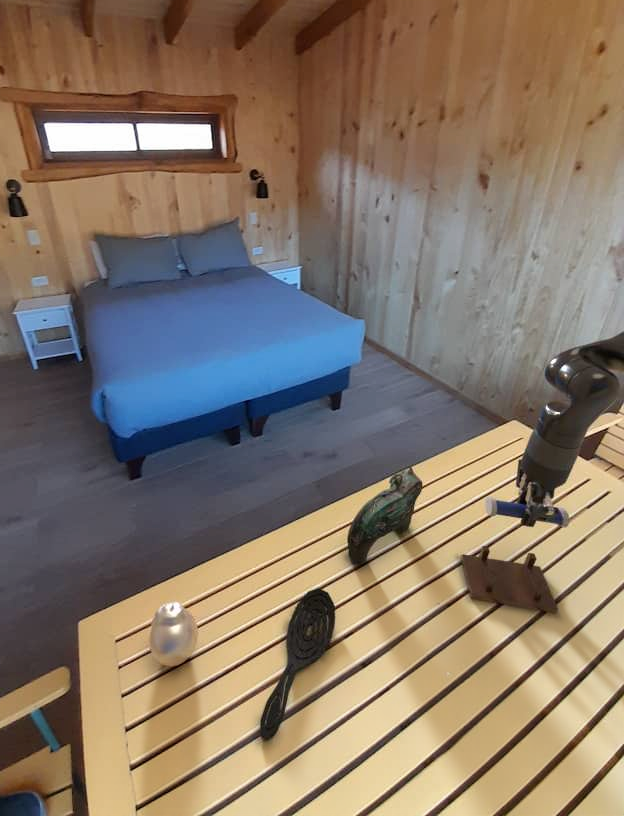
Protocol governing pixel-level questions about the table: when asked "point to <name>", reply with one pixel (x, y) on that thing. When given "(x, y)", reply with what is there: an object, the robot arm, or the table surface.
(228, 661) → the table surface
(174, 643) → the silver rounded egg shape
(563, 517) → the handle
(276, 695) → the hairbrush
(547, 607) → the holder
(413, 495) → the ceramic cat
